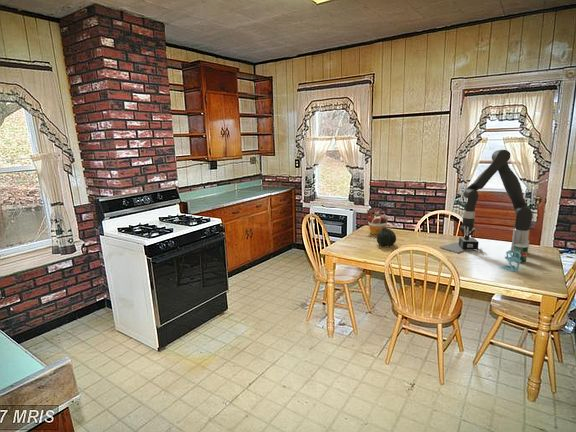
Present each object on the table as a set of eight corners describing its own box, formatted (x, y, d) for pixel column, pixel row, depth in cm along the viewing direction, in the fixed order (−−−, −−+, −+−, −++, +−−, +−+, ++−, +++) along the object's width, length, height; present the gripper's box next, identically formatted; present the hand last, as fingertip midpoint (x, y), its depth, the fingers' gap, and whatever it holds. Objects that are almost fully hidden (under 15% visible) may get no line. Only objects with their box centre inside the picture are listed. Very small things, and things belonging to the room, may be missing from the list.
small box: (477, 250, 252) (473, 245, 261) (479, 242, 250) (474, 237, 260) (462, 249, 254) (458, 244, 264) (463, 241, 252) (459, 236, 262)
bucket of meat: (391, 232, 305) (392, 210, 301) (384, 236, 292) (384, 213, 288) (369, 229, 317) (370, 207, 312) (362, 233, 304) (362, 211, 300)
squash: (403, 239, 266) (392, 222, 272) (390, 244, 258) (379, 227, 264) (391, 247, 277) (382, 231, 283) (379, 252, 269) (369, 235, 274)
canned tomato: (526, 264, 226) (528, 247, 223) (512, 262, 230) (514, 246, 227) (525, 260, 233) (527, 244, 230) (511, 258, 236) (513, 242, 234)
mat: (474, 248, 258) (474, 247, 258) (457, 253, 249) (457, 252, 248) (456, 243, 271) (456, 242, 271) (439, 247, 261) (439, 246, 261)
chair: (509, 272, 214) (511, 253, 212) (501, 266, 222) (503, 249, 220) (522, 271, 214) (524, 253, 211) (514, 266, 222) (516, 248, 219)
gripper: (480, 217, 244) (478, 241, 248) (463, 214, 255) (461, 237, 259) (474, 219, 241) (472, 243, 245) (457, 215, 252) (455, 238, 256)
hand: (466, 240), depth 252 cm, fingers closed
